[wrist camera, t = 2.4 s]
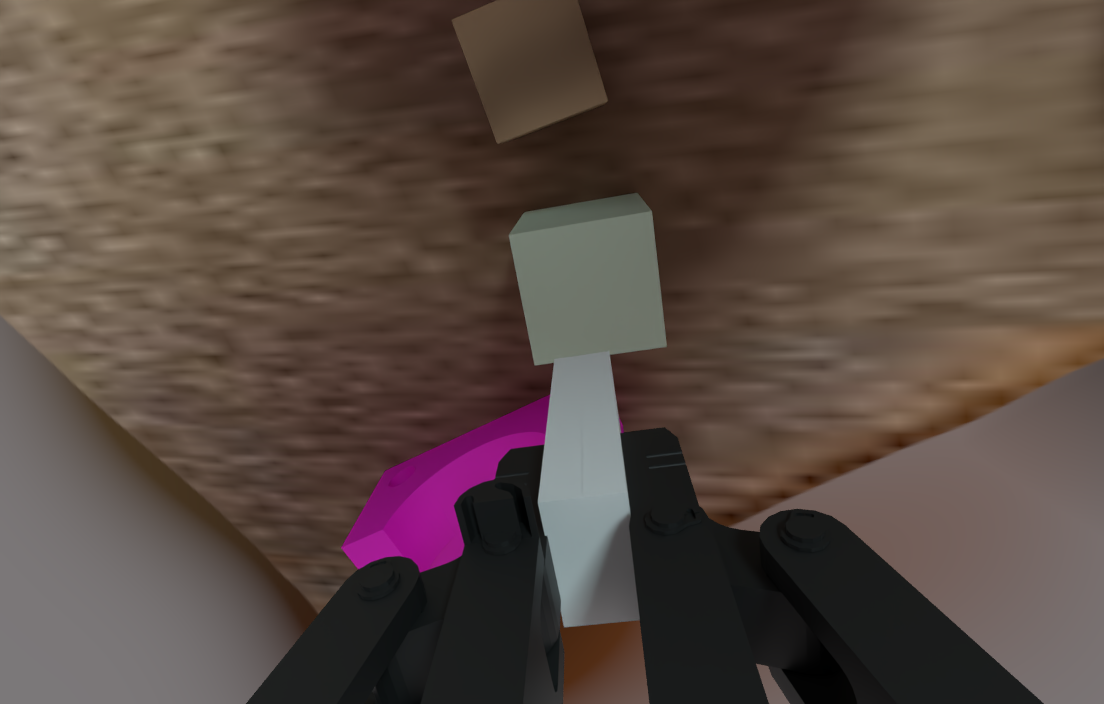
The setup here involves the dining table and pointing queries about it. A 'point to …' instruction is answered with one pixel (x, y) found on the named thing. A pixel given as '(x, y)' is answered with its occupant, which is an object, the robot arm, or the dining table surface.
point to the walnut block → (530, 63)
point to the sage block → (589, 278)
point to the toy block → (438, 492)
